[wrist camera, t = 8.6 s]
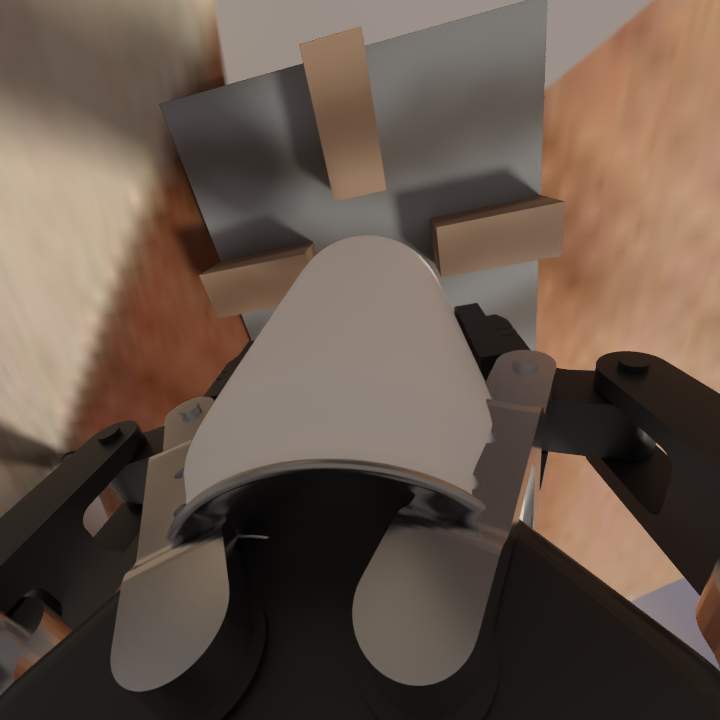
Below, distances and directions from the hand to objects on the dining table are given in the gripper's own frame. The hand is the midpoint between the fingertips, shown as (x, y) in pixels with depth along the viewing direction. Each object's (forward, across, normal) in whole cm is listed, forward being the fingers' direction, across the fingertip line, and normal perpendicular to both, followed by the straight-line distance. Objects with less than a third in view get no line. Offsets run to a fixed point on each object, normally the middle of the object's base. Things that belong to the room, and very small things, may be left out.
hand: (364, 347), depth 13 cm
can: (+4, 0, 0) cm, 4 cm away
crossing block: (+15, 0, 0) cm, 15 cm away
